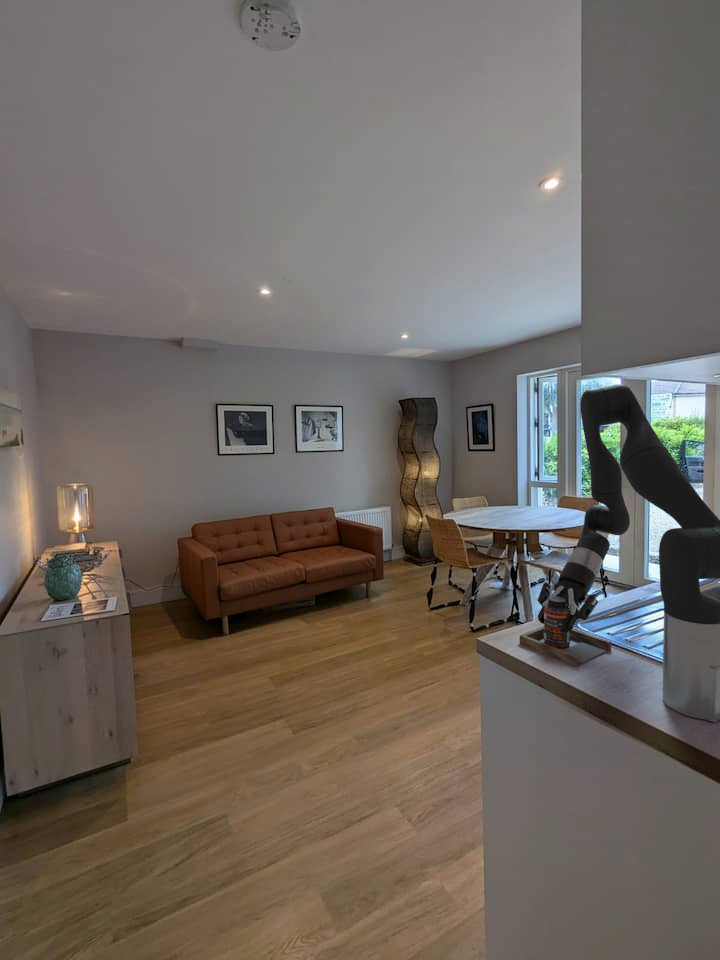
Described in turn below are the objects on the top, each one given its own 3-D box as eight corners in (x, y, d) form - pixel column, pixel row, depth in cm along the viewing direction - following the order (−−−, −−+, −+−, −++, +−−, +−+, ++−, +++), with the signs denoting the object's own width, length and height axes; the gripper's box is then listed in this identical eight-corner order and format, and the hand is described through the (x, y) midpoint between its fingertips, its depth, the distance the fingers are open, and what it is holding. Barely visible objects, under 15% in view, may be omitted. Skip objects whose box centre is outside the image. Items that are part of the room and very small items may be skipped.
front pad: (606, 652, 107) (606, 650, 107) (581, 664, 101) (581, 662, 101) (582, 643, 112) (582, 641, 112) (557, 654, 106) (557, 652, 106)
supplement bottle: (542, 646, 111) (542, 600, 110) (545, 637, 116) (544, 593, 115) (569, 650, 108) (569, 604, 107) (570, 640, 113) (570, 596, 113)
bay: (611, 649, 108) (611, 641, 108) (576, 666, 100) (576, 657, 100) (554, 629, 120) (554, 622, 120) (519, 643, 113) (519, 635, 113)
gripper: (549, 556, 121) (520, 609, 115) (603, 567, 109) (573, 627, 103) (561, 572, 124) (534, 625, 118) (615, 584, 112) (587, 644, 106)
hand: (552, 625), depth 111 cm, fingers closed on supplement bottle, 6 cm apart
